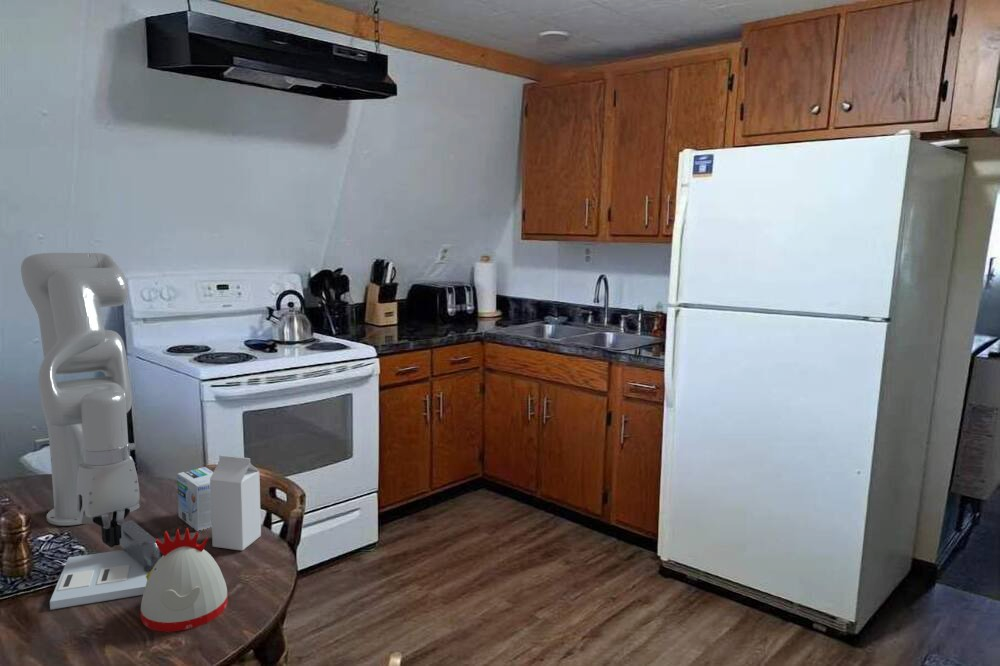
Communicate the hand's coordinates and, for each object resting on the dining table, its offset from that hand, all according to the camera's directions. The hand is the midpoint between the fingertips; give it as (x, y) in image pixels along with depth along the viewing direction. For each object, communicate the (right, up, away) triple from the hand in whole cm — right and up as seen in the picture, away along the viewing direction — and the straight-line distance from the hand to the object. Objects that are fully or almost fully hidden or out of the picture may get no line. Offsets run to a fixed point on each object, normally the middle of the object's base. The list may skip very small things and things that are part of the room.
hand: (112, 544), depth 133 cm
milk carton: (+20, -3, +12) cm, 24 cm away
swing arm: (+5, -3, 0) cm, 6 cm away
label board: (+2, -5, -5) cm, 7 cm away
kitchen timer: (+21, -7, -14) cm, 26 cm away
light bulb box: (+8, -2, +22) cm, 23 cm away
